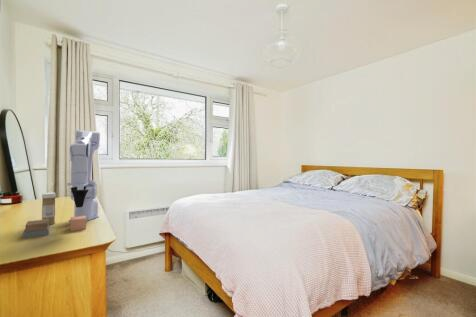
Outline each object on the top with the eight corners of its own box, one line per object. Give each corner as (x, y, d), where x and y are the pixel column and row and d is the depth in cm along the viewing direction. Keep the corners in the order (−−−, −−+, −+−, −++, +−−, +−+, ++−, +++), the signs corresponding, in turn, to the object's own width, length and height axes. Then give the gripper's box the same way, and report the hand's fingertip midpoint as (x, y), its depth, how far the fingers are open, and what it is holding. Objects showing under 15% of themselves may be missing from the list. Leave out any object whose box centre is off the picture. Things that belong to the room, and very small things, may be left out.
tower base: (25, 234, 86) (25, 227, 86) (49, 231, 90) (49, 224, 90) (22, 239, 81) (23, 232, 81) (48, 236, 85) (48, 229, 85)
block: (70, 228, 94) (70, 217, 94) (84, 226, 97) (85, 215, 97) (70, 231, 90) (71, 219, 90) (85, 229, 93) (86, 218, 93)
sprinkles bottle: (55, 222, 101) (56, 192, 101) (53, 224, 97) (54, 193, 97) (42, 223, 99) (43, 192, 99) (39, 226, 95) (40, 194, 95)
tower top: (27, 227, 86) (28, 221, 86) (48, 225, 90) (48, 219, 90) (25, 232, 81) (25, 225, 81) (47, 229, 85) (47, 222, 85)
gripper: (67, 171, 97) (66, 203, 97) (67, 173, 85) (66, 209, 85) (86, 171, 101) (86, 201, 101) (90, 173, 90) (89, 207, 90)
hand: (78, 205), depth 93 cm, fingers open, 7 cm apart
